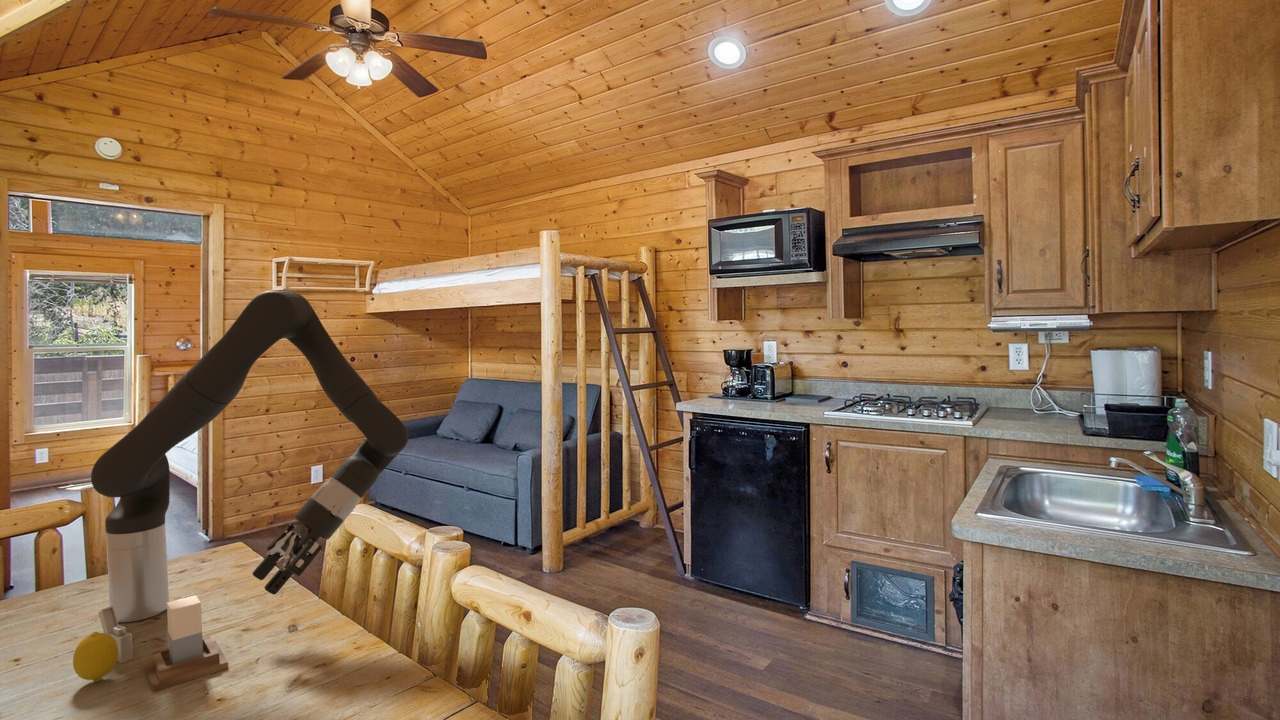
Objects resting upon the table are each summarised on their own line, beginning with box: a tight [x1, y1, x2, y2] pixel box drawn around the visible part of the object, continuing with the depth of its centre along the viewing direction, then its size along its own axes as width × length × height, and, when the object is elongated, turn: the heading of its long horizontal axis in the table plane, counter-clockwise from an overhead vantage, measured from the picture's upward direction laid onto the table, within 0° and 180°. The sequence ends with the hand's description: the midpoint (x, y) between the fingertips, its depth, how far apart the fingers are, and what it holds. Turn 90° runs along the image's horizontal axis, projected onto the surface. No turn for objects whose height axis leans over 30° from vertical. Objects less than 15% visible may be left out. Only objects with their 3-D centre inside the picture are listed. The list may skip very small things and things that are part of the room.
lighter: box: [98, 606, 134, 664], centre depth 110 cm, size 7×2×8 cm, turn 63°
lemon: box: [72, 631, 119, 683], centre depth 102 cm, size 6×6×8 cm
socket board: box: [143, 636, 229, 693], centre depth 106 cm, size 10×10×2 cm
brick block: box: [166, 594, 203, 665], centre depth 106 cm, size 4×4×10 cm
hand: (262, 584), depth 114 cm, fingers open, 8 cm apart
